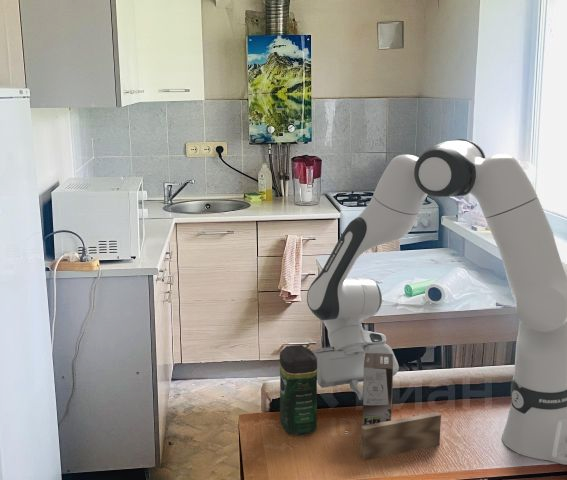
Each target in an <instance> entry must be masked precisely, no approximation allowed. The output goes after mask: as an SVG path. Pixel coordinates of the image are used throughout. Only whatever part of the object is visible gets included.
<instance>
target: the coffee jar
mask: <svg viewBox="0 0 567 480" xmlns="http://www.w3.org/2000/svg"><path fill="white" fill-rule="evenodd" d="M313 352H314V351H312V350H311V349H309V348H307V347H305V346H304V345H301V344H298V345H295V344H294V345H287V346H285V347H284V348H283V349H282V350H280V353H279V379H280V381H279V386H280V387H279V396H280V397H279V420H280V421H279V423H280V425H281V428H282V429H283V431H284V432H286V434H288V435H292V436H298V437H299V436H307V435H309V434H312V433H314V432H316V431H317V429H318V408H317V407H318V386H317V385H318V382H317V358H316V356H315V355H314V354H315V353H313Z"/></svg>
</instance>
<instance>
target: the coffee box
mask: <svg viewBox="0 0 567 480" xmlns="http://www.w3.org/2000/svg"><path fill="white" fill-rule="evenodd" d="M393 378H394V376H393V354H386V353H365V360H364V379H363V383H362V385H363V388H362V390H363V400H362V424H367V423H368V424H375V423H380V422H386V421H391V420H392V412H393V411H392V410H393V389H394V388H393V384H394V383H393V382H394V379H393Z"/></svg>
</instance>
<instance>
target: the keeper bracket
mask: <svg viewBox="0 0 567 480" xmlns="http://www.w3.org/2000/svg"><path fill="white" fill-rule="evenodd" d="M441 425H442V415H441V413H439V412H438V411H436V412H431V413H425V414H420V413H418V414H413V415H412V416H408V417H404V418H398V419H393V420H392V419H391V421H386V422H380V423H375V424H368V423H367V424H363V423H362V424H361V425H360V426H361V427H360V458H361V459H362V460H363V461H367V460H372V459H377V458H381V457H382V458H384V457H389V456H392V455H397V454H402V453H407V452H411V451H417V450H421V449H427V448H431V447H437V446H440V444H441Z"/></svg>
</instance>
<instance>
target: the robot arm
mask: <svg viewBox="0 0 567 480" xmlns="http://www.w3.org/2000/svg"><path fill="white" fill-rule="evenodd" d="M536 192H537V191H536V190H535V188H534V186H533V184H532V182H531V180H530V179H529V177H528V175H527V174H526V172H525V170H524V169H523V167H522V166H521V164H520V163H519V162H518V160H517V159H516V158H515V157H513V156H511V155H508V154H495V155H492V156H489V157H486V155H485V152H484V150H483V149H482V148H481V146H479V144H476V142H474V141H472V140H469V139H463V138H459V139H454V140H447V141H443V142H440V143H438V144H436V145H434V146H430V147H429V148H427V149H426V150H424V152H422V153H421V154H420V156H416V155H413V154H399V155H397V156H395V157H393V158H392V159H391V160H390V162H389V163H388V164H387V166H386V168H385V170H384V171H383V173H382V174H381V176H380V179H379V180H378V183H377V185H376V187H375V190H374V192H373V195H372V197H371V199H370V201H369V202H368V204H367V205H366V207H365V208H364V209H363V210H362V212H361V213H360V214H359V215H358V216H357V217H355V218H354V219H353V220H351V221H350V222H349V223H348V225H347V226H346V227H345V229H344V231H343V232H342V234H341V235H340V237H339V239H338V240H337V242H336V244H335V246H334V248H333V249H332V251H331V253H330V255H329V257H328V258H327V260H326V263H325V265H324V266H323V267H322V269H321V271H320V273H318V275H317V276H316V278H315V279H314V280H313V282H312V283H311V284H310V286H309V288H308V290H307V293H306V301H307V306H308V308H309V310H310V311H311V313H312V314H313V315H314V316H315V317H316V318H317V319H318V320H321V321H323V324H324V326H325V327H326V329H327V337H328V342H329V345H330V347H325V348H317V349H315V350H314V351H312V352H313V353H314V355H315V356H316V358H317V385H318V386H319V387H320V388H322V389H325V388H330V387H336V386H337V387H338V386H343V385H349V387H350V389H351V390H352V391H353V392H354V393H355V394H357V397H358V401H363V389H362V388H361V387H360V386H359V383H361V382H363V379H364V360H365V353H386V354H393V377H394V376H395V375H396V374H397V373H398V371H399V367H400V366H399V363H398V360H397V357H396V356H395V353H394V351H393V349H392V347H390V345H388V344H386V342H387V337H386V334H383V333H379V332H373V331H368V330H365V329H364V327H363V326H362V322H363V321H366V320H368V319H370V318H372V317H373V316H375V315H376V314H377V313H378V312H379V310H380V309H381V306H382V302H383V297H382V291H381V289H380V286H379V285H378V283H377V282H376V281H375V280H374V279H372V278H367V277H366V278H365V277H348V275H349V274H350V272H351V271H352V268H353V266H355V263H357V262H356V261H357V260H358V258H360V256H361V255H362V254H363V253H365V252H367V251H369V250H370V249H374V248H376V247H379V246H381V245H385V244H389V243H392V242H396V241H399V240H401V239H402V238H404V237H405V236H407V235H408V234H409V233H410V232H411V230H412V229H413V228H414V225H415V224H416V221H417V219H418V217H419V214H420V212H421V209H422V207H423V206H424V203H425V200H426V198H427V196H431V197H434V198H435V197H436V198H451V197H464V196H465V197H466V196H467V195H468V194H470V195H472V196H473V197H474V198H475V200H477V202H478V205H479V207H480V208H481V211H482V213H483V216H484V218H485V220H486V223H487V225H488V228H489V230H490V232H491V234H492V236H493V240H494V242H495V244H496V247H497V249H498V251H499V254H500V257H501V260H502V264H503V268H504V273H505V276H506V279H507V282H508V285H509V289H510V291H511V295H512V299H513V301H514V304H515V305H514V306H515V309H516V314H517V316H518V318H519V325H518V331H517V332H518V333H517V338H516V344H515V355H514V356H515V358H514V359H515V361H514V371H513V376H512V377H511V382H510V383H511V384H510V407H509V411H508V416H507V420H506V423H505V427H504V430H503V432H502V434H501V440H502V442H503V444H504V445H505V446H506V447H508V448H509V449H510V450H511V451H513V452H515V453H517V454H520V455H522V456H525V457H529V458H533V459H537V460H538V459H539V460H545V461H550V462H553V463H557V464H560V465H566V466H567V263H565V262H564V261H562V259H561V257H560V252H559V249H558V247H557V243H556V239H555V234H554V232H553V229H552V227H551V225H550V222H549V220H548V218H547V216H546V213H545V211H544V208H543V205H542V204H541V201H540V199H539V197H538V194H537V193H536Z"/></svg>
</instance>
